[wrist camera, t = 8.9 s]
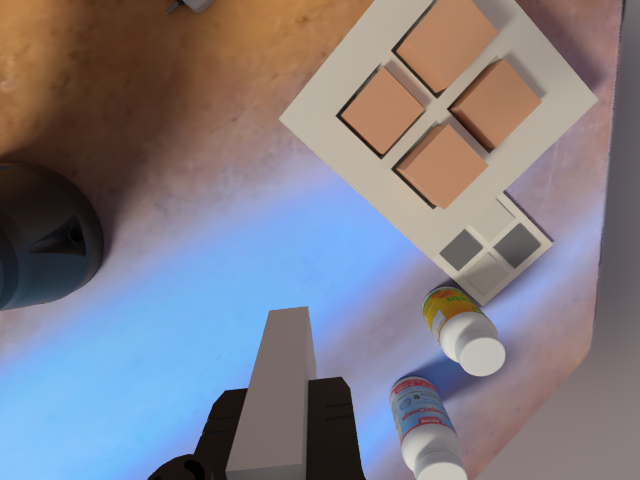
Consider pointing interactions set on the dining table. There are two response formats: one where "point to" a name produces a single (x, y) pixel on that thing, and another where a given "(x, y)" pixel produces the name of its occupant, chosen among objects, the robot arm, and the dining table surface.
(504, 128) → the button
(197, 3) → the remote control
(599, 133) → the dining table surface
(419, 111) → the button
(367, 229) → the dining table surface
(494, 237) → the card
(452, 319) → the supplement bottle
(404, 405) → the pill bottle
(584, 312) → the dining table surface
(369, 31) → the board
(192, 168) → the dining table surface
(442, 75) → the button
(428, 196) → the button
